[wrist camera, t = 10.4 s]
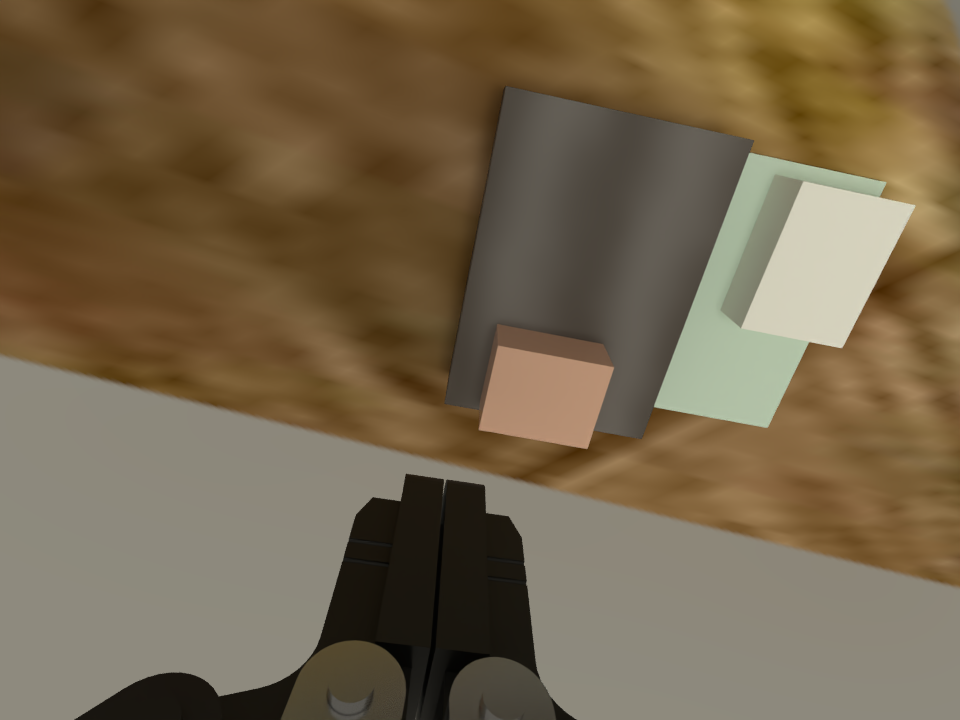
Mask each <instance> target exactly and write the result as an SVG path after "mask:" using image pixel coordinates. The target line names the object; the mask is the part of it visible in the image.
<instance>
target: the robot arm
mask: <svg viewBox="0 0 960 720" xmlns="http://www.w3.org/2000/svg"><path fill="white" fill-rule="evenodd" d="M443 485H444V480H443V479H437V478H431V477H424V476H418V475H411V474H406V476H405V482H404V487H403V493H402V498H401V501H395V500H387V499H381V498H374V497H373V498H372V499H371V500H370V501H369V502H368V503H367V504H366V505H365V506H364V507H363V508H362V509H361V510H360V511H359V512H358V513H357V514H356V517H355V520H354V523H353V527H352V530H351V533H350V537H349V542H348V544H347V547H346V551H345V554H344V559H343V562H342V565H341V569H340V571H339V575H338V578H337V582H336V585H335V589H334V592H333V596H332V600H331V603H330V606H329V610H328V613H327V617H326V620H325V624H324V627H323V630H322V634H321V637H320V640H319V642H318V645H317V647H316V649H315V650H314V652H313V654H312V655H311V656H310V658H309V659H308V660H307V661H306V662H305V663H304V664H303V665H302V666H301V667H300V668H299V669H298V670H297V671H295V672H294V673H292V674H291V675H290V676H288V677H286V678H284V679H283V680H281V681H279V682H277V683H274V684H271V685H269V686H265V687H262V688H258V689H253V690H248V691H244V692H239V693H234V694H229V695H224V696H219V697H218V695H217V693H216V692H215V690H214V688H213V687H212V686H211V685H209V683H208V682H206V681H205V680H203V679H201V678H199V677H197V676H194V675H191V674H186V673H164V674H158V675H154V676H151V677H147V678H145V679H142V680H140V681H138V682H135V683H133V684H132V685H130V686H128V687H126V688H124V689H123V690H121V691H120V692H118V693H116V694H115V695H113V696H112V697H110V698H108V699H107V700H105V701H104V702H102V703H100V704H99V705H97V706H96V707H94V708H92V709H91V710H89V711H88V712H86V713H85V714H83V715H81V716H80V717H78V718H76V719H75V720H576V719H574V718H573V717H572V716H570V715H569V714H567V713H566V712H565V711H564V710H563V709H562V708H560V707H559V706H558V705H557V704H556V703H555V701H554V700H553V699H552V698H551V697H550V695H549V693H548V691H547V689H546V688H545V686H544V685H543V683H542V682H541V680H540V677H539V674H538V671H537V667H536V661H535V652H534V643H533V634H532V626H531V616H530V607H529V598H528V589H527V586H526V581H527V580H526V572H525V566H524V554H523V545H522V537H521V536H520V534H519V533H518V531H517V529H516V528H515V526H514V524H513V523H512V521H511V520H510V518H509V517H508V516H502V515H495V514H488V513H486V505H485V504H486V503H485V486H484V485H480V484H474V483H467V482H459V481H453V480H446V483H445V488H444V493H443Z"/></svg>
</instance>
